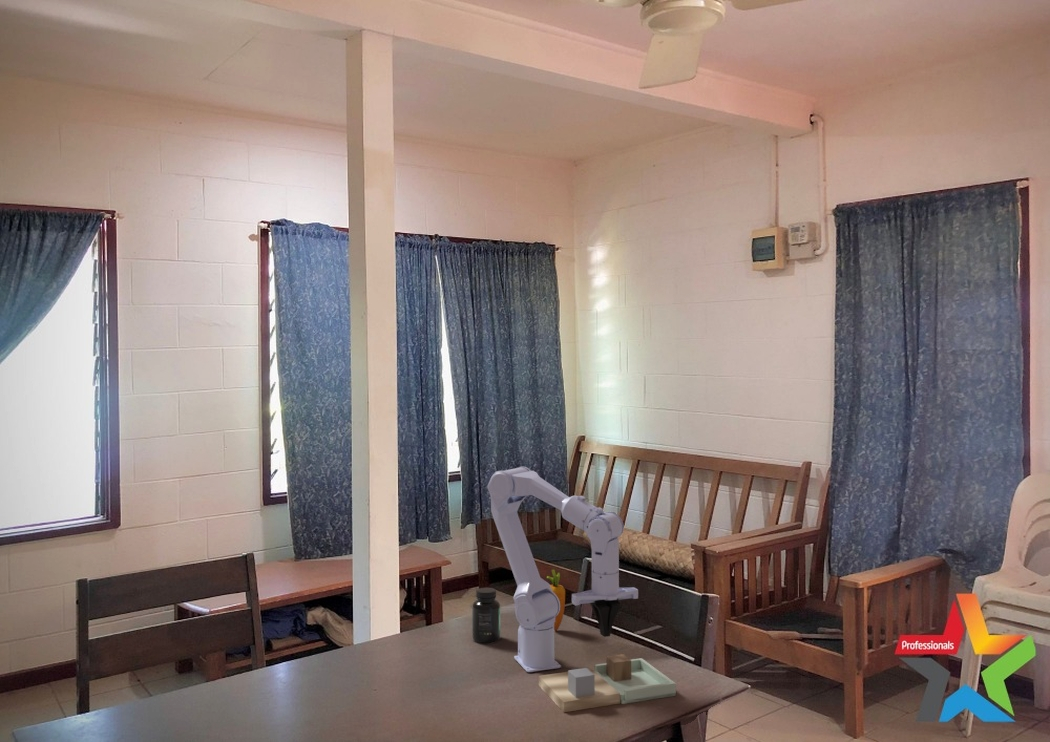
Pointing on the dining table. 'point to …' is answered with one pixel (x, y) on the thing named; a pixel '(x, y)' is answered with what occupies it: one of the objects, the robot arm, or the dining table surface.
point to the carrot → (560, 594)
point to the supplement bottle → (486, 617)
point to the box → (640, 682)
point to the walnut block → (618, 667)
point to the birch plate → (567, 702)
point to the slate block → (581, 682)
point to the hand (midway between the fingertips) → (605, 635)
